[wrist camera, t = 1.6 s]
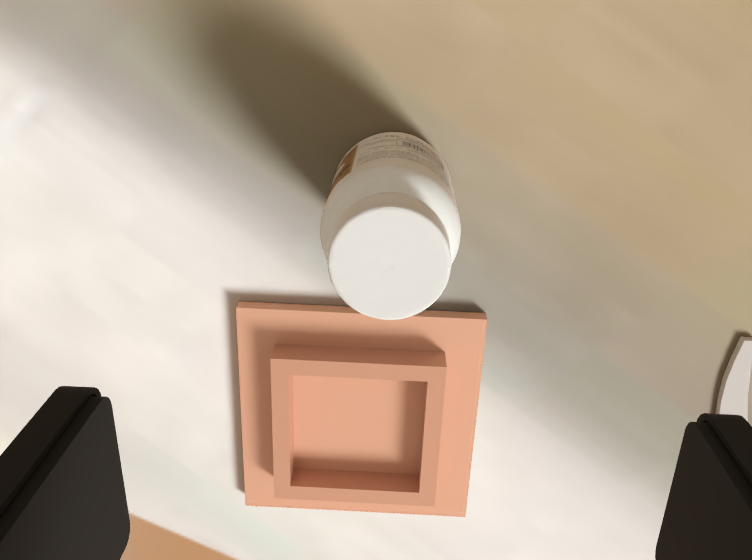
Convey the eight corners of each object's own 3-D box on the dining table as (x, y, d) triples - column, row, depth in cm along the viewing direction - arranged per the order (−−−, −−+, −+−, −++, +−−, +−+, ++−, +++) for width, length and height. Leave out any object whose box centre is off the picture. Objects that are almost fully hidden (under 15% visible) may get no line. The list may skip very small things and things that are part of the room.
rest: (239, 301, 28) (229, 321, 27) (485, 312, 28) (490, 333, 26) (248, 496, 32) (240, 524, 31) (464, 507, 32) (467, 536, 30)
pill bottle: (322, 141, 26) (292, 204, 19) (441, 120, 25) (456, 175, 18) (346, 251, 27) (327, 347, 20) (458, 233, 27) (478, 324, 20)
